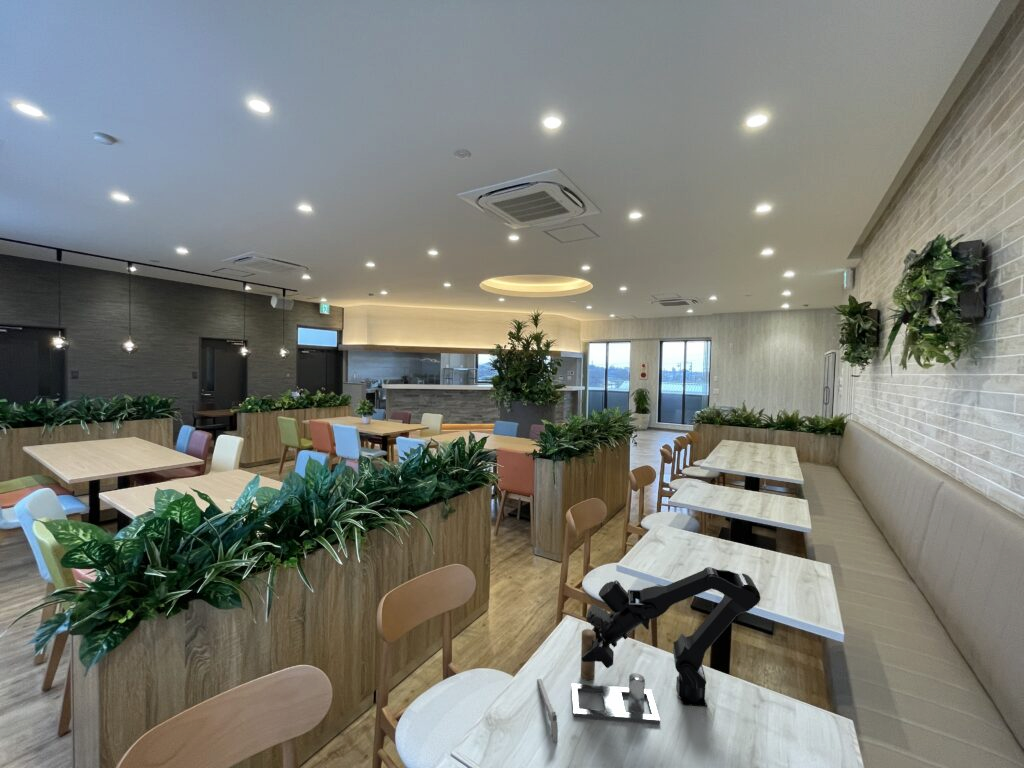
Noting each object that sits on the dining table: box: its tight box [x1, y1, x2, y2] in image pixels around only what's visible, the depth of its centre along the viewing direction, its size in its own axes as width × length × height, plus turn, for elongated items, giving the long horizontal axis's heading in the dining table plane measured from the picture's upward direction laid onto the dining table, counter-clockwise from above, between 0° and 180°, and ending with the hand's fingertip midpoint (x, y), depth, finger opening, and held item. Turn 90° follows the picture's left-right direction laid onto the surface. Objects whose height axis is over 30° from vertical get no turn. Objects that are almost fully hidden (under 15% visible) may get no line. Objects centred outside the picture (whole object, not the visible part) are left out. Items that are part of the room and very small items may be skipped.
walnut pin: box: [580, 628, 596, 682], centre depth 125 cm, size 4×4×13 cm
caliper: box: [536, 678, 559, 743], centre depth 113 cm, size 20×1×6 cm, turn 8°
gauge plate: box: [571, 682, 661, 725], centre depth 114 cm, size 22×10×1 cm, turn 85°
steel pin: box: [627, 672, 646, 714], centre depth 114 cm, size 4×4×8 cm
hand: (583, 651), depth 125 cm, fingers open, 7 cm apart
